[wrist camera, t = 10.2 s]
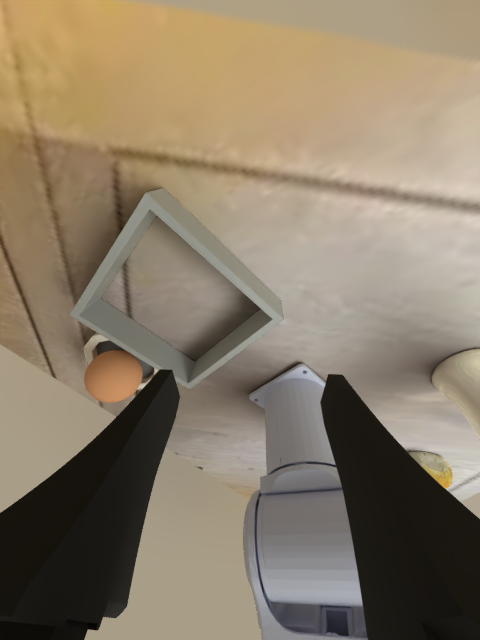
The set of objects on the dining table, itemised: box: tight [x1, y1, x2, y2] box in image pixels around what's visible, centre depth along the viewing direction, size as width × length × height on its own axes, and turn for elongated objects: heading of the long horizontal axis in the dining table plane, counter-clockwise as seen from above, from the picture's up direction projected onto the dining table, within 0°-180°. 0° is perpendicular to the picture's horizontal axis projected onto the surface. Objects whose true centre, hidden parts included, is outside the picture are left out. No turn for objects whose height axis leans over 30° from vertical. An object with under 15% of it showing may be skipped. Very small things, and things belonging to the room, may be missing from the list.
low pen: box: [70, 188, 284, 389], centre depth 19 cm, size 12×12×3 cm
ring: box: [84, 332, 158, 389], centre depth 25 cm, size 8×8×1 cm
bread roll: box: [409, 451, 452, 488], centre depth 33 cm, size 8×9×4 cm
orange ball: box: [84, 350, 143, 403], centre depth 23 cm, size 5×5×5 cm
